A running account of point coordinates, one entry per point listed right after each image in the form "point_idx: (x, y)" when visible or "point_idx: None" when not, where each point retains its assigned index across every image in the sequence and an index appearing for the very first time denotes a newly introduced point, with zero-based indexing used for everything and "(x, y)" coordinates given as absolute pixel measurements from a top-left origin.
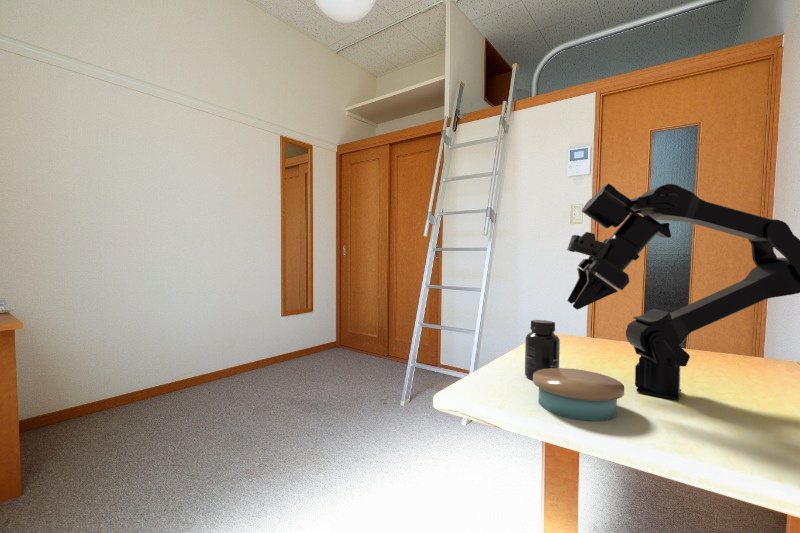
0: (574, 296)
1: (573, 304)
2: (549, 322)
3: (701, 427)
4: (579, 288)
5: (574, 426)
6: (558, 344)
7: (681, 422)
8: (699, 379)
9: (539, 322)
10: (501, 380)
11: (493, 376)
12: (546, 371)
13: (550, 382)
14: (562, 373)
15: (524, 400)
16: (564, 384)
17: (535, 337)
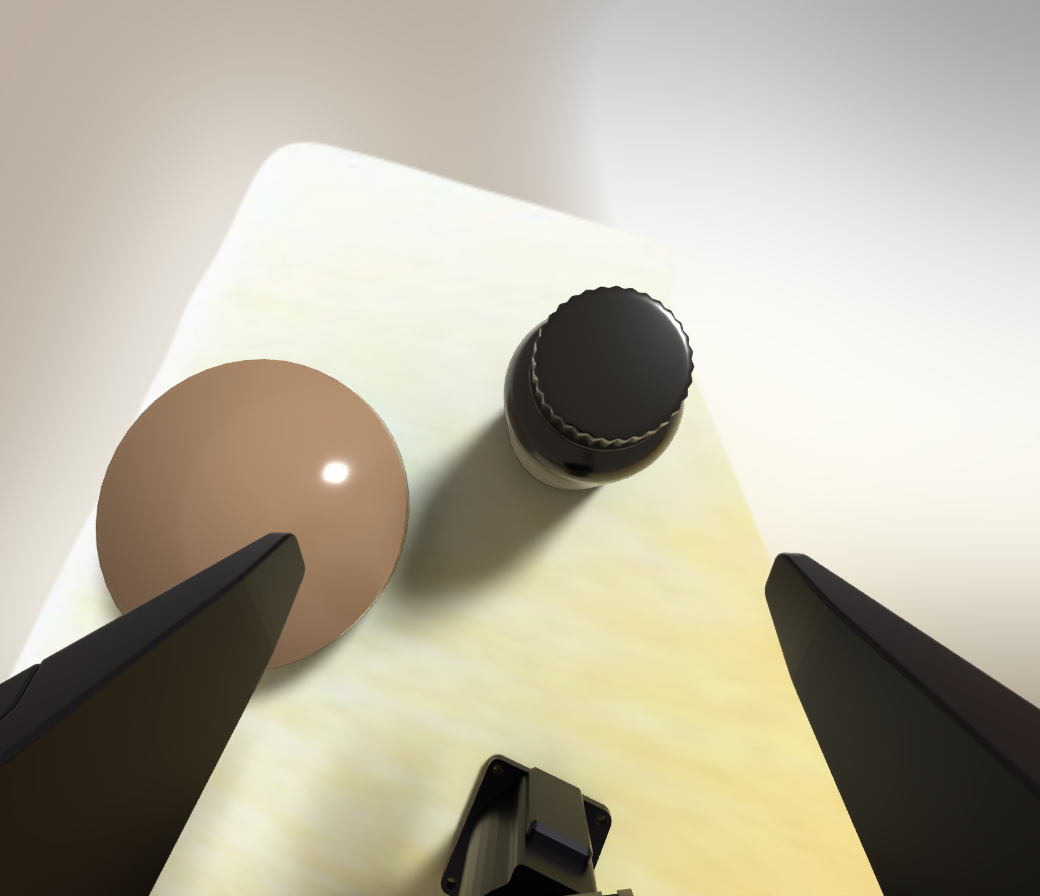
0: (818, 646)
1: (272, 538)
2: (580, 401)
3: (217, 845)
4: (943, 785)
5: None
6: (549, 473)
7: (243, 799)
8: None
9: (544, 334)
10: (490, 293)
11: (529, 265)
12: (331, 411)
13: (192, 412)
14: (320, 468)
15: (310, 362)
16: (181, 457)
17: (523, 346)
